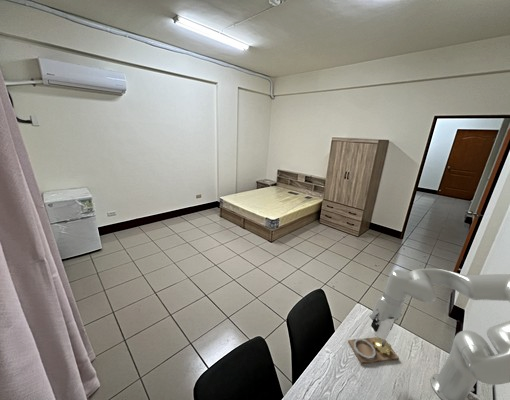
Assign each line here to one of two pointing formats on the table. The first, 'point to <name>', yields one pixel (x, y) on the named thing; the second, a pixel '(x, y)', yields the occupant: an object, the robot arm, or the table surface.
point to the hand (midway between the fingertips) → (380, 327)
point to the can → (383, 328)
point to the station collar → (361, 353)
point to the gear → (382, 346)
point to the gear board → (371, 352)
